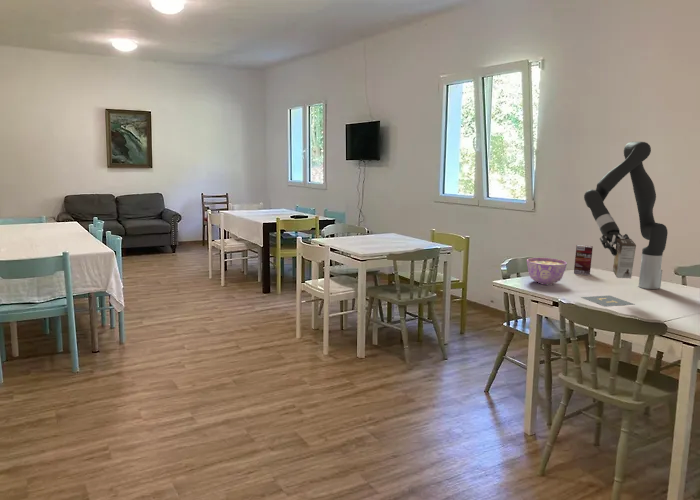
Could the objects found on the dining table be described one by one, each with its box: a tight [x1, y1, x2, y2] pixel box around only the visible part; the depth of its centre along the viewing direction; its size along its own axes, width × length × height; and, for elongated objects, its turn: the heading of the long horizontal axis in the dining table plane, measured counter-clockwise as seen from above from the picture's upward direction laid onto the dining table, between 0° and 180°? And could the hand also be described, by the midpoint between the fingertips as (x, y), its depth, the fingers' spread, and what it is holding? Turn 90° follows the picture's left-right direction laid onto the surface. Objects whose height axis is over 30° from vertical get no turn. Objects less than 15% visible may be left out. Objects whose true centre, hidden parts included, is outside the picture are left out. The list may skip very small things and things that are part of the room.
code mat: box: [581, 295, 634, 307], centre depth 257 cm, size 16×16×1 cm
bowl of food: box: [526, 257, 568, 285], centre depth 290 cm, size 20×20×12 cm
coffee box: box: [612, 238, 637, 279], centre depth 253 cm, size 9×6×16 cm
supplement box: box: [573, 244, 594, 276], centre depth 314 cm, size 9×5×16 cm, turn 68°
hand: (623, 254), depth 254 cm, fingers closed on coffee box, 7 cm apart
